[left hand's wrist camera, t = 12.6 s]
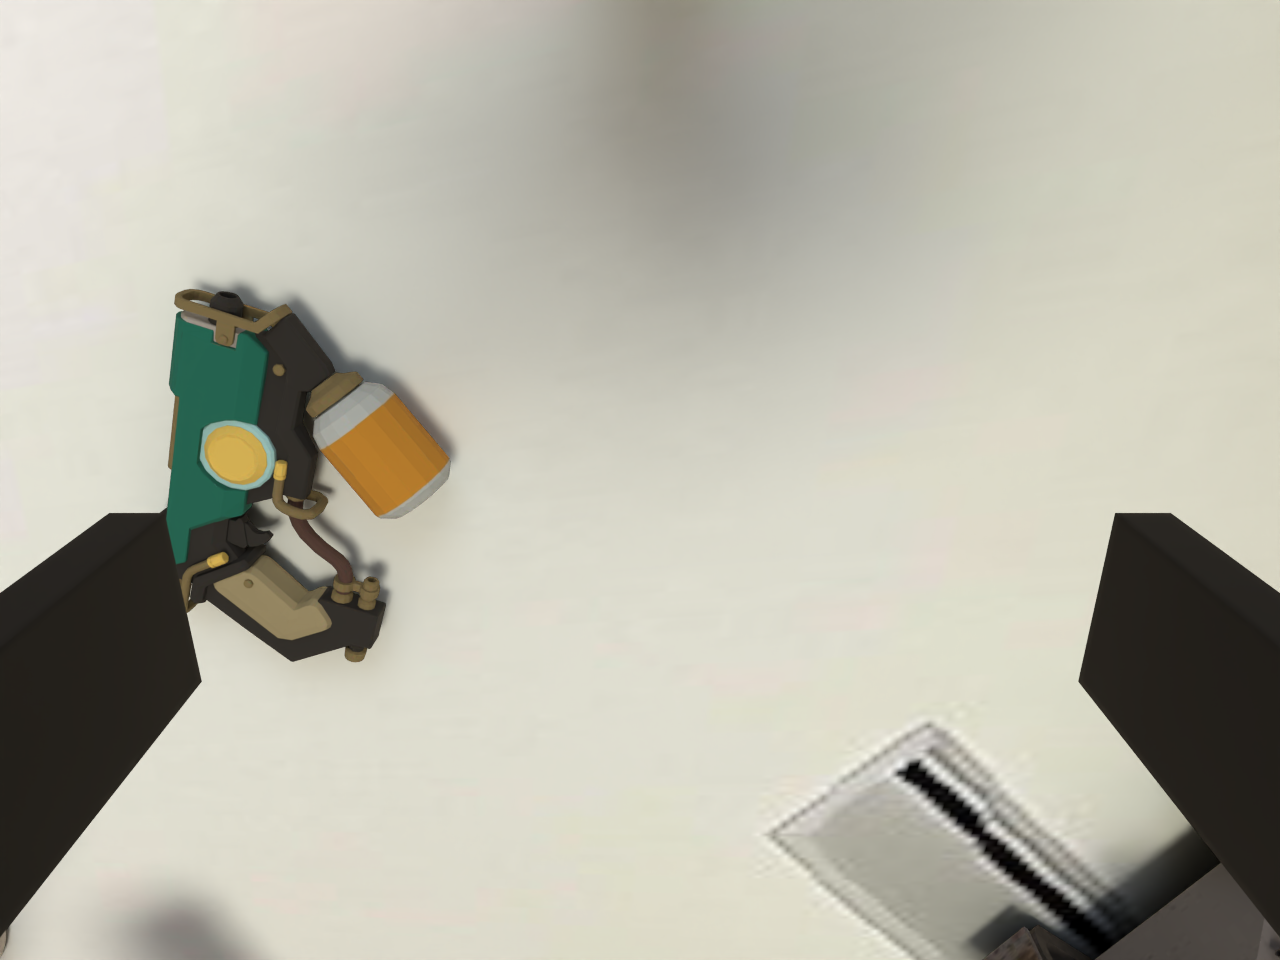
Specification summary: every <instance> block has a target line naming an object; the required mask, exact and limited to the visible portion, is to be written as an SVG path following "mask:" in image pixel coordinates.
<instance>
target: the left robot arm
mask: <svg viewBox="0 0 1280 960" xmlns="http://www.w3.org/2000/svg"><path fill="white" fill-rule="evenodd" d="M201 682H202V681H201V676H200V672H199V667H198V663H197V658H196V654H195V649H194V644H193V640H192V635H191V631H190V626H189V622H188V617H187V612H186V608H185V603H184V599H183V594H182V590H181V585H180V580H179V576H178V571H177V567H176V562H175V558H174V553H173V548H172V544H171V539H170V535H169V530H168V526H167V521H166V516H165V513H109V514H107V515H106V516H105V517H103V518H102V519H101V520H99V521H98V522H97V523H95V524H94V525H92V526H91V527H90V528H88V529H87V530H86V531H84V532H83V533H82V534H80V535H79V536H77V537H76V538H75V539H73V540H72V541H71V542H69V543H68V544H67V545H65V546H64V547H62V548H61V549H60V550H58V551H57V552H56V553H54V554H53V555H52V556H50V557H49V558H47V559H46V560H45V561H43V562H42V563H41V564H39V565H38V566H37V567H35V568H34V569H32V570H31V571H30V572H28V573H27V574H26V575H24V576H23V577H22V578H20V579H19V580H17V581H16V582H15V583H13V584H12V585H11V586H9V587H8V588H6V589H5V590H4V591H2V592H1V593H0V937H1V936H2V935H3V933H4V932H5V931H6V929H7V928H8V927H9V926H10V924H11V923H12V922H13V921H14V919H15V918H16V917H17V916H18V914H19V913H20V912H21V910H22V909H23V908H24V907H25V905H26V904H27V903H28V902H29V900H30V899H31V898H32V896H33V895H34V894H35V893H36V891H37V890H38V889H39V888H40V886H41V885H42V884H43V882H44V881H45V880H46V879H47V877H48V876H49V875H50V874H51V872H52V871H53V870H54V868H55V867H56V866H57V865H58V863H59V862H60V861H61V860H62V858H63V857H64V856H65V854H66V853H67V852H68V851H69V849H70V848H71V847H72V846H73V844H74V843H75V842H76V841H77V839H78V838H79V837H80V835H81V834H82V833H83V832H84V830H85V829H86V828H87V827H88V825H89V824H90V823H91V821H92V820H93V819H94V818H95V816H96V815H97V814H98V813H99V811H100V810H101V809H102V807H103V806H104V805H105V804H106V802H107V801H108V800H109V799H110V797H111V796H112V795H113V793H114V792H115V791H116V790H117V788H118V787H119V786H120V785H121V783H122V782H123V781H124V780H125V778H126V777H127V776H128V774H129V773H130V772H131V771H132V769H133V768H134V767H135V766H136V764H137V763H138V762H139V760H140V759H141V758H142V757H143V755H144V754H145V753H146V752H147V750H148V749H149V748H150V746H151V745H152V744H153V743H154V741H155V740H156V739H157V738H158V736H159V735H160V734H161V732H162V731H163V730H164V729H165V727H166V726H167V725H168V724H169V722H170V721H171V720H172V718H173V717H174V716H175V715H176V713H177V712H178V711H179V710H180V708H181V707H182V706H183V705H184V703H185V702H186V701H187V699H188V698H189V697H190V696H191V694H192V693H193V692H194V691H195V689H196V688H197V687H198V685H199V684H200V683H201ZM1078 682H1079V683H1080V684H1081V685H1082V687H1083V688H1084V689H1085V691H1086V692H1087V693H1088V694H1089V696H1090V697H1091V698H1092V699H1093V701H1094V702H1095V703H1096V705H1097V706H1098V707H1099V708H1100V710H1101V711H1102V712H1103V713H1104V715H1105V716H1106V717H1107V718H1108V720H1109V721H1110V722H1111V724H1112V725H1113V726H1114V727H1115V729H1116V730H1117V731H1118V732H1119V734H1120V735H1121V736H1122V738H1123V739H1124V740H1125V741H1126V743H1127V744H1128V745H1129V746H1130V748H1131V749H1132V750H1133V752H1134V753H1135V754H1136V755H1137V757H1138V758H1139V759H1140V760H1141V762H1142V763H1143V764H1144V766H1145V767H1146V768H1147V769H1148V771H1149V772H1150V773H1151V774H1152V776H1153V777H1154V778H1155V780H1156V781H1157V782H1158V783H1159V785H1160V786H1161V787H1162V788H1163V790H1164V791H1165V792H1166V793H1167V795H1168V796H1169V797H1170V799H1171V800H1172V801H1173V802H1174V804H1175V805H1176V806H1177V807H1178V809H1179V810H1180V811H1181V813H1182V814H1183V815H1184V816H1185V818H1186V819H1187V820H1188V821H1189V823H1190V824H1191V825H1192V827H1193V828H1194V829H1195V830H1196V832H1197V833H1198V834H1199V835H1200V837H1201V838H1202V839H1203V841H1204V842H1205V843H1206V844H1207V846H1208V847H1209V848H1210V849H1211V851H1212V852H1213V853H1214V854H1215V856H1216V857H1217V858H1218V860H1219V861H1220V862H1221V863H1222V865H1223V866H1224V867H1225V868H1226V870H1227V871H1228V872H1229V874H1230V875H1231V876H1232V877H1233V879H1234V880H1235V881H1236V882H1237V884H1238V885H1239V886H1240V888H1241V889H1242V890H1243V891H1244V893H1245V894H1246V895H1247V896H1248V898H1249V899H1250V900H1251V902H1252V903H1253V904H1254V905H1255V907H1256V908H1257V909H1258V910H1259V912H1260V913H1261V914H1262V916H1263V917H1264V918H1265V919H1266V921H1267V922H1268V923H1269V924H1270V926H1271V927H1272V928H1273V929H1274V931H1275V932H1276V933H1277V935H1278V936H1279V937H1280V593H1279V592H1278V591H1276V590H1275V589H1274V588H1272V587H1271V586H1269V585H1268V584H1267V583H1265V582H1264V581H1263V580H1261V579H1260V578H1258V577H1257V576H1256V575H1254V574H1253V573H1252V572H1250V571H1249V570H1248V569H1246V568H1245V567H1243V566H1242V565H1241V564H1239V563H1238V562H1237V561H1235V560H1234V559H1233V558H1231V557H1230V556H1228V555H1227V554H1226V553H1224V552H1223V551H1222V550H1220V549H1219V548H1218V547H1216V546H1215V545H1213V544H1212V543H1211V542H1209V541H1208V540H1207V539H1205V538H1204V537H1203V536H1201V535H1200V534H1198V533H1197V532H1196V531H1194V530H1193V529H1192V528H1190V527H1189V526H1188V525H1186V524H1185V523H1183V522H1182V521H1181V520H1179V519H1178V518H1177V517H1175V516H1174V515H1173V514H1171V513H1115V516H1114V521H1113V526H1112V530H1111V535H1110V539H1109V544H1108V548H1107V553H1106V558H1105V562H1104V567H1103V571H1102V576H1101V580H1100V585H1099V590H1098V594H1097V599H1096V603H1095V608H1094V612H1093V617H1092V622H1091V626H1090V631H1089V635H1088V640H1087V644H1086V649H1085V654H1084V658H1083V663H1082V667H1081V672H1080V676H1079V681H1078Z"/></svg>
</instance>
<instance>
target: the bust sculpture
mask: <svg viewBox="0 0 1280 960" xmlns="http://www.w3.org/2000/svg"><path fill="white" fill-rule="evenodd" d="M5 943H6V931H5V932H4V933H3V935H2V936H1V937H0V957H1V955H2V953H3V950H4V947H5Z"/></svg>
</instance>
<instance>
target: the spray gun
mask: <svg viewBox="0 0 1280 960" xmlns="http://www.w3.org/2000/svg"><path fill="white" fill-rule="evenodd" d="M189 300H200V301H205V302H208V303H210V307H207V306H204V305H201V304H198V303H195V302H192V301H189ZM174 304H175V305H176V306H177V307H178V308H180V309H183V310H184V311H181V312H178V313H177V314H176V322H175V332H174V341H173V351H172V360H171V370H170V379H169V386H170V389H171V390H172V392H173V393H174V395H175V403H174V413H173V423H172V432H171V442H170V451H169V461H168V467H169V468H170V469H171V479H170V489H169V498H168V507H167V508H165V509H164V510H163V511H162V512H160V513H165V516H166V521H167V526H168V530H169V535H170V539H171V544H172V548H173V553H174V558H175V562H176V567H177V571H178V576H179V580H180V585H181V590H182V594H183V599H184V603H185V608H186V612H187V613H188V612H189V611H190V610H191V609H193V608H194V607H195V606H196V605H197V604H198V603H204V602H205V601H206V600H208V601H209V602H211V603H212V604H213V605H215V606H216V607H217V608H219V609H220V610H221V611H223V612H224V613H225V614H227V615H228V616H229V617H231V618H232V619H233V620H235V621H236V622H237V623H239V624H240V625H241V626H243V627H244V628H245V629H247V630H248V631H250V632H251V633H252V634H254V635H255V636H256V637H258V638H259V639H261V640H262V641H263V642H265V643H266V644H268V645H269V646H270V647H272V648H273V649H275V650H276V651H277V652H279V653H280V654H282V655H283V656H284V657H286V658H287V659H289V660H290V661H292V662H294V661H297V660H301V659H304V658H308V657H311V656H315V655H318V654H321V653H325V652H328V651H332V650H335V649H339V648H342V647H346V648H345V658H346V659H347V660H349V661H351V662H360V661H362V660H363V659H364V657H365V654H366V652H367V648H368V649H370V648H371V647H372V646H373V644H374V642H375V641H376V639H377V637H378V636H379V631H380V627H381V623H382V619H383V615H384V611H385V607H386V604H385V603H384V602H381V601H377V600H375V599H376V598H377V597H378V595H379V591H380V586H379V580H378V579H377V578H375V577H367V578H366V579H364V582H363V583H362V582H358V581H356V580H355V577H354V576H353V572H352V567H351V565H350V563H349V561H348V560H347V559H346V558H345V557H344V556H343V555H342V554H341V553H339V552H338V551H337V550H335V549H334V548H333V547H331V546H330V545H329V544H327V543H326V542H325V541H324V540H323V539H322V538H321V537H320V536H319V535H318V534H317V533H316V532H315V531H314V530H313V529H312V527H311V526H310V525H309V523H308V521H307V519H314V518H315V517H317V516H318V515H319V514H320V513H322V512H323V511H324V509H325V507H326V505H327V503H328V498H327V497H325V496H324V495H323V494H322V493H320V492H317V491H313V490H311V488H312V482H313V477H314V471H315V466H316V460H317V455H318V452H317V450H316V448H315V446H314V444H313V442H312V440H311V438H310V436H309V434H308V432H307V430H306V428H305V426H304V424H303V415H304V408H305V400H306V393H307V391H308V392H311V391H312V393H311V398H310V400H309V402H308V405H307V407H306V411H307V412H308V413H309V415H310V416H311V417H313V418H314V417H316V416H317V418H316V419H315V420H314V430H313V437H314V439H315V441H316V443H317V445H318V447H319V449H320V451H321V452H322V453H323V454H324V455H325V456H326V458H327V459H328V460H329V461H330V462H331V464H332V465H333V466H334V467H335V468H336V469H337V471H338V472H339V473H340V474H341V475H342V476H343V478H344V479H345V480H346V481H347V482H348V484H349V485H350V486H351V487H352V488H353V489H354V491H355V492H356V493H357V494H358V495H359V496H360V498H361V499H362V500H363V501H364V502H365V504H366V505H367V506H368V507H369V508H370V509H371V511H372V512H373V513H374V514H375V515H376V516H377V517H379V518H399V517H402V516H403V515H405V514H407V513H409V512H410V511H412V510H413V509H415V508H416V507H417V506H419V505H420V504H422V503H423V502H424V501H425V500H426V499H428V498H429V497H430V496H431V495H432V494H433V493H435V492H436V491H437V490H438V489H439V488H440V487H441V486H442V485H443V484H444V483H445V481H446V480H447V479H448V477H449V471H450V459H449V457H448V456H447V455H446V454H445V452H444V451H443V450H442V449H441V448H440V446H439V445H438V444H437V443H436V442H435V441H434V439H433V438H432V437H431V436H430V435H429V433H428V432H427V431H426V430H425V429H424V428H423V426H422V425H421V424H420V423H419V422H418V420H417V419H416V418H415V417H414V416H413V415H412V413H411V412H410V411H409V410H408V409H407V407H406V406H405V405H404V404H403V403H402V401H401V400H400V399H399V398H398V397H397V396H396V394H395V393H394V392H392V391H391V390H389V389H388V388H387V387H385V386H384V385H382V384H379V383H370V382H364V383H362V384H360V383H361V382H362V381H363V378H362V377H361V376H360V375H359V373H358V372H349V373H335V374H333V373H334V372H336V371H335V369H334V367H333V364H332V362H331V361H330V360H329V358H328V357H327V356H326V354H325V353H324V352H323V350H322V349H321V348H320V346H319V345H318V344H317V343H316V341H315V340H314V339H313V337H312V336H311V335H310V333H309V332H308V331H307V329H306V328H305V327H304V325H303V324H302V323H301V322H300V320H299V319H298V318H297V316H296V315H295V314H293V313H292V311H291V309H290V308H289V307H288V306H287V305H286V304H284V305H282V306H280V307H278V308H276V309H274V310H272V311H270V312H267V311H264V310H261V309H258V308H255V307H252V306H248V305H245V304H243V302H242V301H241V299H240V298H239V296H238V295H236V294H234V293H230V292H223V291H222V292H218V293H217V294H212V293H209V292H206V291H201V290H195V289H188V290H183V291H181V292H179V293H177V294H176V295H175V303H174ZM253 318H257V319H259V320H258V321H256V322H253ZM269 326H272V328H271V329H270V330H269V331H268V330H267V329H266V328H268V327H269ZM332 374H333V375H332ZM331 375H332V376H331ZM329 376H331V377H329ZM328 377H329V378H328ZM327 378H328V379H327ZM326 379H327V380H326ZM324 380H325V381H324ZM323 381H324V382H323ZM322 382H323V383H322ZM319 384H320V385H319ZM318 385H319V386H318ZM314 388H315V389H314ZM283 495H285V496H286V497H287V498H288V503H286V502H285V501H284V500H283ZM271 498H273V503H274V505H275V507H276V508H277V509H278V510H280V511H281V512H282V513H284V514H286V515H288V516H289V518H290V521H291V523H292V526H293V527H294V529H295V531H296V532H297V534H298V535H299V537H300V538H301V539H302V540H303V541H304V542H305V543H306V544H307V545H308V546H309V547H310V548H311V549H312V550H313V551H314V552H315V553H317V554H318V555H319V556H321V557H322V558H323V559H325V560H326V561H327V562H329V563H330V564H331V565H332V566H333V567H334V568H335V569H336V570H337V573H338V574H337V575H336V576H335V577H334V582H333V587H331V586H330V587H325V586H323V587H319V588H317V589H315V590H312V591H308V590H307V589H306V588H304V587H303V586H302V585H301V584H300V583H299V582H298V581H297V580H295V579H294V578H293V577H292V576H291V575H290V574H289V573H288V572H287V571H285V570H284V569H283V568H282V567H281V566H280V565H279V564H278V563H276V562H275V561H274V560H273V559H272V558H270V557H269V556H266V555H262V554H263V553H264V552H265V550H266V545H264V543H265V542H267V541H269V540H270V539H271V537H272V536H273V534H272V533H271V532H270V530H269V531H260V530H258V529H257V528H255V527H254V525H253V524H252V522H251V521H249V518H248V516H247V514H244V513H245V512H246V511H247V510H249V509H250V508H251V507H252V503H254V502H259V501H263V500H267V499H271ZM305 499H308V500H312V501H316V502H317V503H316V504H315V505H314V506H313V507H312V508H311V509H303V500H305ZM241 515H242V516H241ZM247 545H249V546H248V547H246V546H247ZM191 583H193V585H192V590H191ZM190 590H191V595H190ZM352 591H356V592H359V594H360V595H358V594H354V593H353V592H352ZM189 596H190V600H189ZM188 600H189V601H188Z"/></svg>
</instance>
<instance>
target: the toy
mask: <svg viewBox="0 0 1280 960" xmlns="http://www.w3.org/2000/svg"><path fill="white" fill-rule="evenodd" d="M983 960H1092V959H1091V958H1089V957H1087V956H1086V955H1084V954H1083V953H1081V952H1080V951H1078V950H1077V949H1075V948H1073V947H1072V946H1070V945H1069V944H1067V943H1066V942H1064V941H1062V940H1061V939H1059V938H1058V937H1056V936H1055V935H1053V934H1051V933H1050V932H1048V931H1047V930H1045V929H1044V928H1042V927H1040V926H1039V925H1037V926H1035V927H1034V928H1033V929H1032V930H1030V931H1029V930H1028V929H1027V928H1025V927H1023V928H1021V929H1020V930H1019V931H1018V932H1016V933H1015V934H1014V935H1013V936H1011V937H1010V938H1009V939H1008V940H1007V941H1005V942H1004V943H1003V944H1002V945H1000V946H999V947H998V948H997V949H995V950H994V951H993V952H992V953H990V954H989V955H988V956H987V957H985V958H984V959H983ZM1095 960H1280V937H1279V936H1278V935H1277V933H1276V932H1275V931H1274V929H1273V928H1272V927H1271V926H1270V924H1269V923H1268V922H1267V921H1266V919H1265V918H1264V917H1263V916H1262V914H1261V913H1260V912H1259V910H1258V909H1257V908H1256V907H1255V905H1254V904H1253V903H1252V902H1251V900H1250V899H1249V898H1248V896H1247V895H1246V894H1245V893H1244V891H1243V890H1242V889H1241V888H1240V886H1239V885H1238V884H1237V882H1236V881H1235V880H1234V879H1233V877H1232V876H1231V875H1230V874H1229V872H1228V871H1227V870H1226V868H1225V867H1224V866H1223V865H1222V863H1220V864H1219V865H1217V866H1216V867H1215V868H1213V869H1212V870H1211V871H1209V872H1208V873H1207V874H1206V875H1204V876H1203V877H1202V878H1200V879H1199V880H1198V881H1196V882H1195V883H1194V884H1193V885H1191V886H1190V887H1189V888H1187V889H1186V890H1185V891H1183V892H1182V893H1181V894H1180V895H1178V896H1177V897H1176V898H1174V899H1173V900H1172V901H1170V902H1169V903H1168V904H1167V905H1165V906H1164V907H1163V908H1161V909H1160V910H1159V911H1157V912H1156V913H1155V914H1154V915H1152V916H1151V917H1150V918H1148V919H1147V920H1146V921H1144V922H1143V923H1142V924H1141V925H1139V926H1138V927H1137V928H1135V929H1134V930H1133V931H1131V932H1130V933H1129V934H1128V935H1126V936H1125V937H1124V938H1122V939H1121V940H1120V941H1118V942H1117V943H1116V944H1114V945H1113V946H1112V947H1111V948H1109V949H1108V950H1107V951H1105V952H1104V953H1103V954H1101V955H1100V956H1099V957H1098V958H1096V959H1095Z"/></svg>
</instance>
